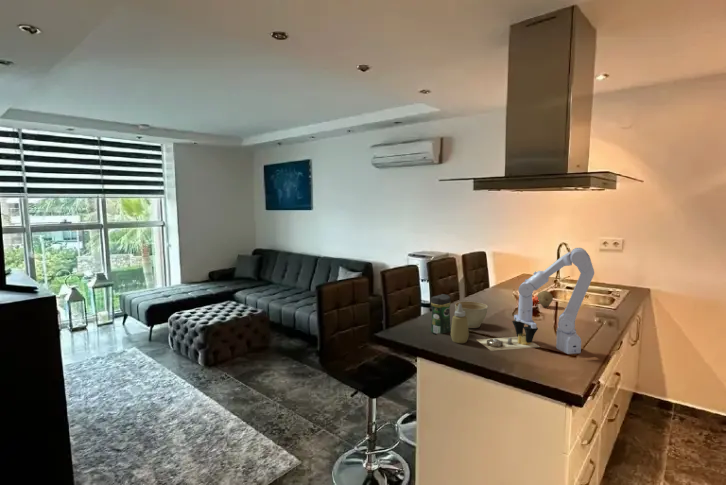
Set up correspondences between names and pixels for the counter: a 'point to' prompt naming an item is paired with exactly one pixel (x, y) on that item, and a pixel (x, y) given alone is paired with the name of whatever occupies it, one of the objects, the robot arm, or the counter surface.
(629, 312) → the counter surface
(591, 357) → the counter surface
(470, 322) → the planter bowl
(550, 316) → the counter surface
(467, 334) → the squeeze bottle
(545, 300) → the natural sponge
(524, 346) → the gear board
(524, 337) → the brass gear
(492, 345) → the drive gear
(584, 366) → the counter surface
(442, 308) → the coffee jar
